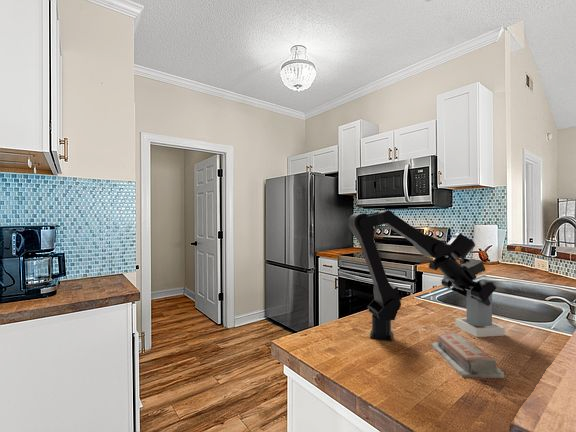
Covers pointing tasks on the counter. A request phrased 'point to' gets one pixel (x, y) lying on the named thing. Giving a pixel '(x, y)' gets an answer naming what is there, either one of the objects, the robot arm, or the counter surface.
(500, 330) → the tray
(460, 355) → the packaged product
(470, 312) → the slate block
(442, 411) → the counter surface
